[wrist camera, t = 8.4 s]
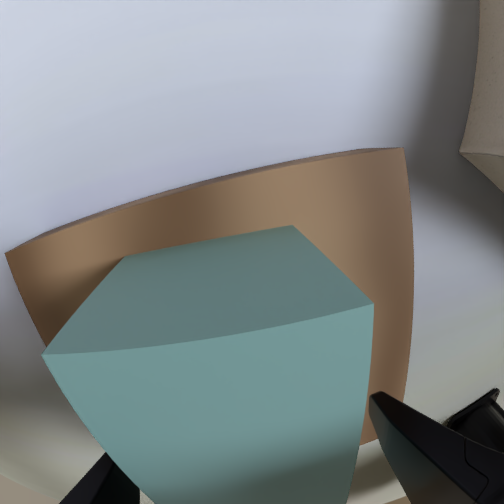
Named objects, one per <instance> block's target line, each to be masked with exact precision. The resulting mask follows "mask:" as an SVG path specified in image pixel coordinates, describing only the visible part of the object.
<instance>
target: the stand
mask: <svg viewBox="0 0 504 504" xmlns="http://www.w3.org/2000/svg"><path fill="white" fill-rule="evenodd" d="M288 225H293V226H294V227H295V228H297V229H298V230H299V231H300V232H301V233H302V234H303V235H304V236H305V237H306V238H307V239H308V240H309V241H310V242H312V243H313V244H314V245H315V246H316V247H317V248H318V249H319V250H320V251H321V252H322V253H323V254H324V255H325V256H326V257H327V258H328V259H329V260H330V261H331V262H333V263H334V264H335V265H336V266H337V267H338V268H339V269H340V270H341V271H342V272H343V273H344V274H345V275H346V276H347V277H348V278H349V279H350V280H351V281H352V282H353V283H354V284H355V285H356V286H357V287H358V288H359V289H360V290H361V291H362V292H363V293H364V294H365V295H366V296H367V297H368V298H369V299H370V300H371V301H372V302H373V303H374V318H373V337H372V351H371V363H370V374H369V383H368V392H367V400H366V407H365V414H364V421H363V427H362V433H361V439H360V444H359V446H360V445H363V444H365V443H368V442H371V441H373V440H376V439H378V437H377V434H376V432H375V429H374V426H373V424H372V421H371V419H370V416H369V412H368V408H369V396H370V395H371V394H373V393H376V392H378V391H383V392H385V393H387V394H389V395H390V396H392V397H394V398H396V399H397V400H399V401H401V402H402V403H403V398H404V392H405V386H406V379H407V372H408V364H409V355H410V345H411V334H412V320H413V298H414V249H413V227H412V213H411V201H410V191H409V182H408V174H407V167H406V160H405V153H404V148H366V149H357V150H350V151H344V152H338V153H332V154H326V155H320V156H315V157H309V158H304V159H298V160H293V161H288V162H283V163H278V164H274V165H269V166H264V167H260V168H255V169H251V170H246V171H242V172H238V173H233V174H229V175H225V176H221V177H217V178H213V179H209V180H205V181H202V182H198V183H194V184H190V185H187V186H183V187H179V188H176V189H172V190H169V191H165V192H162V193H158V194H155V195H152V196H148V197H145V198H142V199H139V200H135V201H132V202H129V203H126V204H123V205H120V206H117V207H114V208H111V209H108V210H105V211H102V212H99V213H96V214H93V215H90V216H88V217H85V218H82V219H79V220H76V221H74V222H71V223H68V224H66V225H63V226H60V227H58V228H55V229H53V230H50V231H47V232H45V233H43V234H41V235H39V236H37V237H35V238H33V239H31V240H29V241H27V242H25V243H23V244H21V245H19V246H17V247H16V248H14V249H12V250H10V251H8V252H6V253H5V256H6V258H7V261H8V264H9V267H10V269H11V272H12V275H13V277H14V280H15V282H16V285H17V287H18V290H19V292H20V294H21V297H22V299H23V301H24V303H25V306H26V308H27V310H28V312H29V314H30V316H31V318H32V320H33V322H34V324H35V326H36V328H37V330H38V332H39V334H40V336H41V338H42V340H43V342H44V343H45V345H46V347H47V346H48V345H49V344H50V343H51V341H52V340H53V339H54V337H55V336H56V335H57V334H58V332H59V331H60V330H61V329H62V327H63V326H64V325H65V324H66V323H67V321H68V320H69V319H70V318H71V316H72V315H73V314H74V313H75V312H76V310H77V309H78V308H79V307H80V306H81V305H82V303H83V302H84V301H85V300H86V299H87V298H88V296H89V295H90V294H91V293H92V292H93V291H94V290H95V288H96V287H97V286H98V285H99V284H100V283H101V282H102V281H103V279H104V278H105V277H106V276H107V275H108V274H109V273H110V272H111V271H112V270H113V269H114V267H115V266H116V265H117V264H118V263H119V262H120V261H121V260H122V259H123V258H124V257H125V256H128V255H133V254H138V253H143V252H148V251H153V250H158V249H163V248H169V247H174V246H179V245H184V244H189V243H194V242H200V241H205V240H210V239H216V238H221V237H226V236H232V235H237V234H243V233H248V232H254V231H259V230H265V229H271V228H276V227H282V226H288Z"/></svg>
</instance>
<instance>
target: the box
mask: <svg viewBox="0 0 504 504" xmlns="http://www.w3.org/2000/svg"><path fill="white" fill-rule="evenodd" d="M459 153H460V154H461V155H462V156H463V157H465V158H466V159H467V160H468V161H470V162H471V163H472V164H473V165H474V166H475V167H476V168H478V169H479V170H480V171H481V172H482V173H483V174H484V175H485V176H486V177H488V178H489V179H490V180H491V181H492V182H493V183H494V184H495V185H496V186H497V187H498V188H499V189H500V190H501V191H502V192H503V193H504V0H480V16H479V41H478V54H477V64H476V71H475V79H474V86H473V93H472V99H471V104H470V110H469V115H468V119H467V124H466V128H465V132H464V136H463V140H462V143H461V146H460V149H459Z"/></svg>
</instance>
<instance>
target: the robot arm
mask: <svg viewBox="0 0 504 504" xmlns="http://www.w3.org/2000/svg"><path fill="white" fill-rule="evenodd" d="M499 392H500V390H499V389H498V388H496V389H495V390H493V391H492V392H491V393H489V394H488V395H486V396H485V397H484V398H482V399H481V400H479V401H478V402H476V403H475V404H473V405H472V406H470V407H469V408H467V409H465V410H464V411H462V412H461V413H459V414H457V415H456V416H454V417H453V418H452V419H451V420H450V421H449V423H448V426H447V427H446V426H444V425H442V424H440V423H438V422H436V421H434V420H433V419H431V418H429V417H427V416H425V415H424V414H422V413H420V412H418V411H416V410H415V409H413V408H411V407H409V406H408V405H406V404H404V403H402V402H401V401H399V400H397V399H396V398H394V397H392V396H390V395H389V394H387V393H385V392H383V391H378V392H376V393H373V394H371V395H370V396H369V408H368V412H369V416H370V419H371V421H372V424H373V426H374V429H375V432H376V434H377V437H378V439H379V442H380V445H381V447H382V450H383V452H384V454H385V456H386V458H387V460H388V462H389V464H390V465H391V467H392V469H393V471H394V473H395V475H396V476H397V478H398V480H399V482H400V484H401V486H402V488H403V489H404V491H405V493H406V495H407V497H408V499H409V500H410V502H411V504H504V410H503V409H502V408H501V407H500V406H499V405H498V404H497V402H496V399H497V397H498V395H499ZM59 504H140V489H139V488H138V487H137V486H136V485H135V484H134V483H133V481H132V480H131V479H130V478H129V477H128V476H127V475H126V474H125V473H124V472H123V471H122V470H121V469H120V468H119V466H118V465H117V464H116V463H115V462H114V461H113V460H112V458H111V457H110V456H109V455H108V454H107V452H105V453H104V454H103V456H102V457H101V458H100V459H99V460H98V461H97V462H96V463H95V465H94V466H93V467H92V468H91V469H90V470H89V471H88V472H87V473H86V475H85V476H84V477H83V478H82V479H81V480H80V481H79V482H78V483H77V485H76V486H75V487H74V488H73V489H72V490H71V491H70V492H69V493H68V494H67V496H66V497H65V498H64V499H63V500H62V501H61V502H60V503H59Z"/></svg>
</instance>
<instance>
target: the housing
mask: <svg viewBox="0 0 504 504" xmlns="http://www.w3.org/2000/svg"><path fill="white" fill-rule="evenodd" d="M373 318H374V303H373V302H372V301H371V300H370V299H369V298H368V297H367V296H366V295H365V294H364V293H363V292H362V291H361V290H360V289H359V288H358V287H357V286H356V285H355V284H354V283H353V282H352V281H351V280H350V279H349V278H348V277H347V276H346V275H345V274H344V273H343V272H342V271H341V270H340V269H339V268H338V267H337V266H336V265H335V264H334V263H333V262H331V261H330V260H329V259H328V258H327V257H326V256H325V255H324V254H323V253H322V252H321V251H320V250H319V249H318V248H317V247H316V246H315V245H314V244H313V243H312V242H310V241H309V240H308V239H307V238H306V237H305V236H304V235H303V234H302V233H301V232H300V231H299V230H298V229H297V228H295V227H294V226H293V225H288V226H282V227H276V228H271V229H265V230H259V231H254V232H248V233H243V234H237V235H232V236H226V237H221V238H216V239H210V240H205V241H200V242H194V243H189V244H184V245H179V246H174V247H169V248H163V249H158V250H153V251H148V252H143V253H138V254H133V255H128V256H125V257H124V258H123V259H122V260H121V261H120V262H119V263H118V264H117V265H116V266H115V267H114V269H113V270H112V271H111V272H110V273H109V274H108V275H107V276H106V277H105V278H104V279H103V281H102V282H101V283H100V284H99V285H98V286H97V287H96V288H95V290H94V291H93V292H92V293H91V294H90V295H89V296H88V298H87V299H86V300H85V301H84V302H83V303H82V305H81V306H80V307H79V308H78V309H77V310H76V312H75V313H74V314H73V315H72V316H71V318H70V319H69V320H68V321H67V323H66V324H65V325H64V326H63V327H62V329H61V330H60V331H59V332H58V334H57V335H56V336H55V337H54V339H53V340H52V341H51V343H50V344H49V345H48V346H47V348H46V349H45V350H44V352H43V353H42V354H41V356H42V358H43V359H44V361H45V363H46V365H47V367H48V368H49V370H50V372H51V374H52V375H53V377H54V379H55V380H56V382H57V384H58V385H59V387H60V389H61V390H62V392H63V393H64V395H65V397H66V398H67V400H68V401H69V403H70V404H71V406H72V407H73V409H74V410H75V412H76V413H77V415H78V416H79V417H80V419H81V420H82V422H83V423H84V424H85V426H86V427H87V428H88V430H89V431H90V432H91V434H92V435H93V436H94V438H95V439H96V440H97V441H98V443H99V444H100V445H101V446H102V448H103V449H104V450H105V451H106V452H107V454H108V455H109V456H110V457H111V458H112V460H113V461H114V462H115V463H116V464H117V465H118V466H119V468H120V469H121V470H122V471H123V472H124V473H125V474H126V475H127V476H128V477H129V478H130V479H131V480H132V481H133V483H134V484H135V485H136V486H137V487H138V488H139V489H140V490H141V491H142V492H143V493H144V494H145V495H147V496H148V497H149V498H150V499H151V500H152V501H153V502H154V503H155V504H346V502H347V498H348V494H349V490H350V486H351V482H352V478H353V474H354V469H355V464H356V460H357V455H358V450H359V444H360V439H361V433H362V427H363V421H364V414H365V407H366V400H367V392H368V383H369V374H370V363H371V351H372V337H373Z"/></svg>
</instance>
